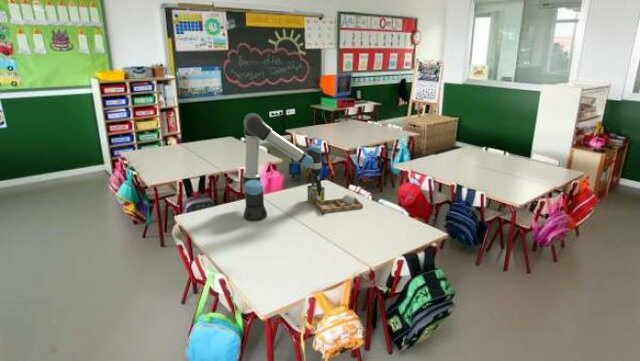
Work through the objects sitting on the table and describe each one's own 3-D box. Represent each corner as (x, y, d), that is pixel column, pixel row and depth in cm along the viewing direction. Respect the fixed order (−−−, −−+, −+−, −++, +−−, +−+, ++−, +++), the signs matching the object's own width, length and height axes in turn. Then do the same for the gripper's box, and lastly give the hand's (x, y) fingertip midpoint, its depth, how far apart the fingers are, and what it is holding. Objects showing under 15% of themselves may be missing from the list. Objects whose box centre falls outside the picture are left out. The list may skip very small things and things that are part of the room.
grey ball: (345, 208, 277) (345, 197, 275) (341, 203, 285) (341, 193, 282) (356, 206, 280) (356, 195, 277) (351, 202, 287) (352, 191, 284)
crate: (321, 214, 270) (321, 209, 269) (315, 206, 283) (315, 201, 282) (362, 209, 278) (362, 204, 276) (354, 201, 291) (354, 196, 290)
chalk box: (313, 205, 285) (313, 185, 280) (307, 201, 292) (306, 181, 287) (324, 202, 289) (325, 182, 285) (317, 198, 297) (317, 179, 292)
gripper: (326, 172, 272) (326, 202, 279) (315, 162, 295) (316, 189, 302) (315, 173, 270) (316, 203, 277) (305, 163, 293) (306, 191, 300)
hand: (316, 196), depth 289 cm, fingers open, 13 cm apart
